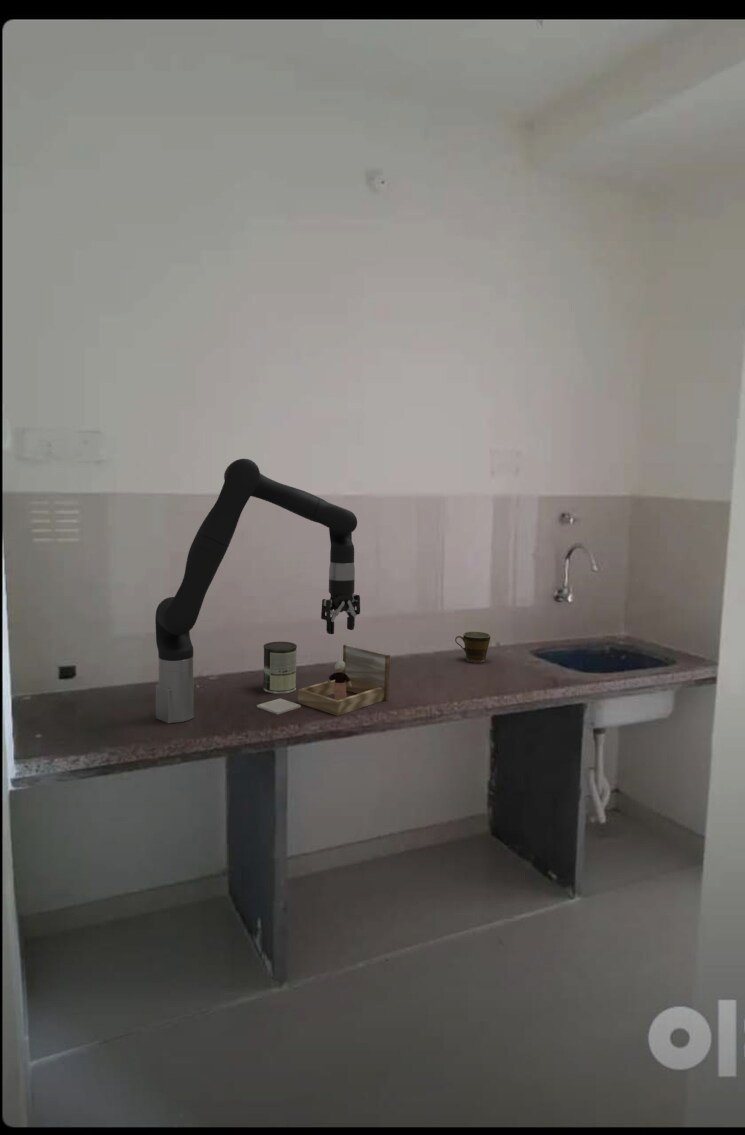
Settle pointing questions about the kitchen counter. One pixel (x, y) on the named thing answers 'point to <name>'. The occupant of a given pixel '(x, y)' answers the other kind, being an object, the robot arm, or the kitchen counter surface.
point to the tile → (278, 706)
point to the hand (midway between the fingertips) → (340, 631)
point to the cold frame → (353, 683)
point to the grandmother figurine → (339, 681)
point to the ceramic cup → (475, 646)
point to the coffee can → (280, 667)
